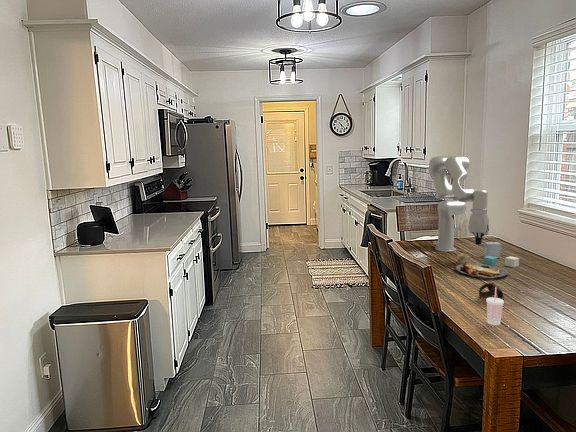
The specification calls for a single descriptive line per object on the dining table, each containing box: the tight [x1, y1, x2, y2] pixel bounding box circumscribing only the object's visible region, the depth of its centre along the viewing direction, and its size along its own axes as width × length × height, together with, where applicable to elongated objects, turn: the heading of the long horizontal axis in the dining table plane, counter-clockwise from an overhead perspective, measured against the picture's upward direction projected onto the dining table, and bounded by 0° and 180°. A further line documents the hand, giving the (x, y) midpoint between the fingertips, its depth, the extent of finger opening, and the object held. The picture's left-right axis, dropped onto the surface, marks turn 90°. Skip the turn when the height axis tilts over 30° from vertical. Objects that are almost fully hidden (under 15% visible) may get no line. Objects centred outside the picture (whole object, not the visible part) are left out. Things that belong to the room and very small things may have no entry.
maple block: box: [456, 253, 471, 265], centre depth 245 cm, size 5×5×4 cm
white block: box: [504, 255, 520, 268], centre depth 239 cm, size 5×5×4 cm
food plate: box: [454, 262, 509, 279], centre depth 227 cm, size 25×23×4 cm
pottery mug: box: [478, 282, 505, 301], centre depth 190 cm, size 12×10×8 cm
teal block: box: [482, 256, 498, 267], centre depth 241 cm, size 5×5×4 cm
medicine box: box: [483, 241, 502, 259], centre depth 256 cm, size 8×4×9 cm, turn 84°
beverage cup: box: [486, 287, 505, 326], centre depth 164 cm, size 6×6×14 cm
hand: (478, 244), depth 245 cm, fingers closed
